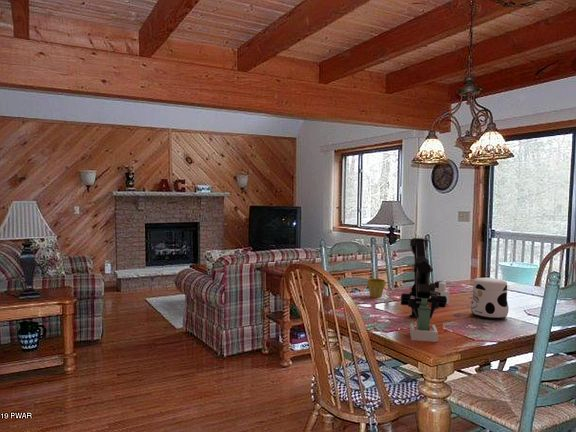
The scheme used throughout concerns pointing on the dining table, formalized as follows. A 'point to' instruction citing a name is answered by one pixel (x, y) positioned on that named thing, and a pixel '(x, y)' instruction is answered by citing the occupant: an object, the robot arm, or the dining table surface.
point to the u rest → (424, 334)
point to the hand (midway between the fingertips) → (424, 317)
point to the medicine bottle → (440, 290)
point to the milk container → (489, 298)
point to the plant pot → (376, 287)
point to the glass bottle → (423, 316)
